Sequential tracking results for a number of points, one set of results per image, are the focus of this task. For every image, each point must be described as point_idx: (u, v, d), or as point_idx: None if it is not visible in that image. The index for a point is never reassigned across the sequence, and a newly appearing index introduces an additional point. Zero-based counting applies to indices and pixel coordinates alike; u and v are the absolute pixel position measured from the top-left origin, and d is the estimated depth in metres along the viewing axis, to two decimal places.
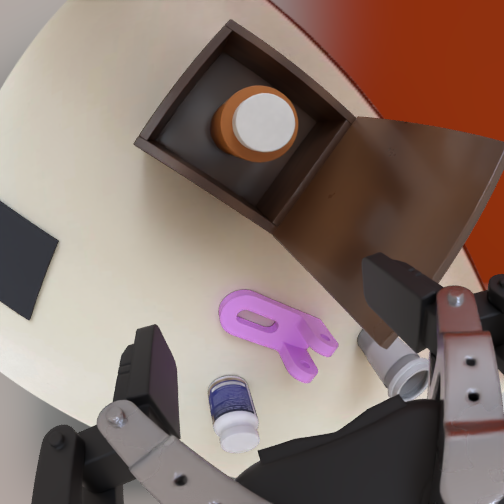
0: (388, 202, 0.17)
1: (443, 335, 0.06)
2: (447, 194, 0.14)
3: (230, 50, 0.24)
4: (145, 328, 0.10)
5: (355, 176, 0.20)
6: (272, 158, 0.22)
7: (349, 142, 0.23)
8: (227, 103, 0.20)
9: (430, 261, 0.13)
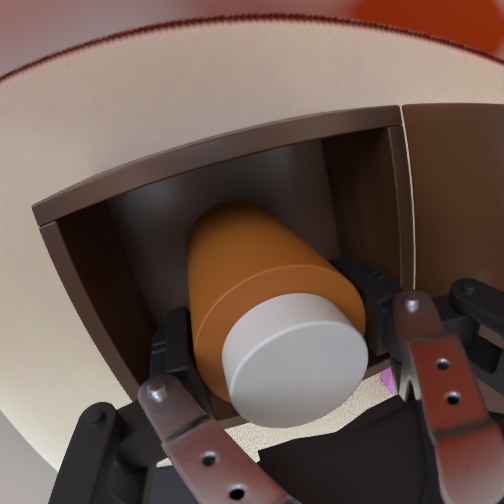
0: None
1: (408, 342, 0.06)
2: None
3: None
4: (176, 309, 0.11)
5: None
6: None
7: (439, 185, 0.09)
8: (204, 379, 0.09)
9: None
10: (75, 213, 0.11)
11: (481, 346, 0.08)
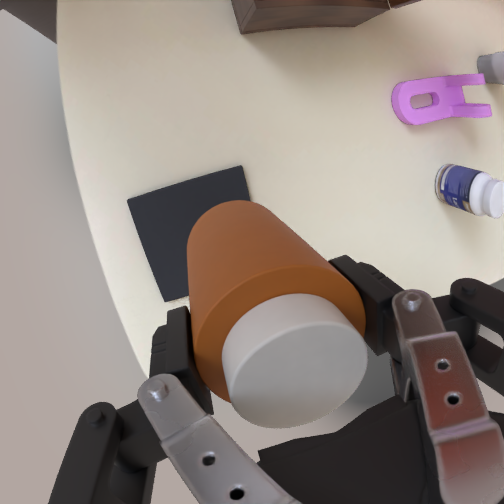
0: None
1: (408, 342, 0.06)
2: None
3: None
4: (176, 309, 0.11)
5: None
6: None
7: None
8: (204, 379, 0.09)
9: None
10: None
11: (481, 346, 0.08)
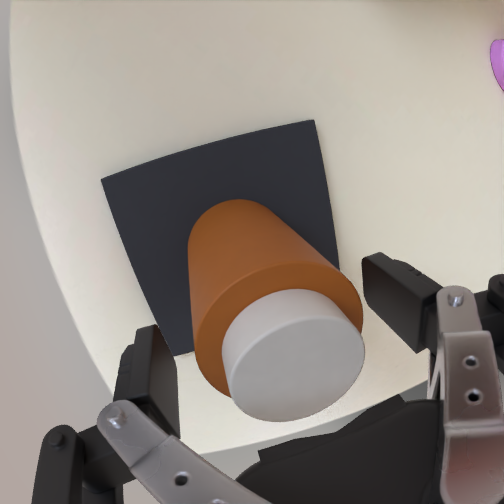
0: None
1: (443, 335, 0.06)
2: None
3: None
4: (145, 328, 0.10)
5: None
6: None
7: None
8: (204, 373, 0.09)
9: None
10: None
11: None
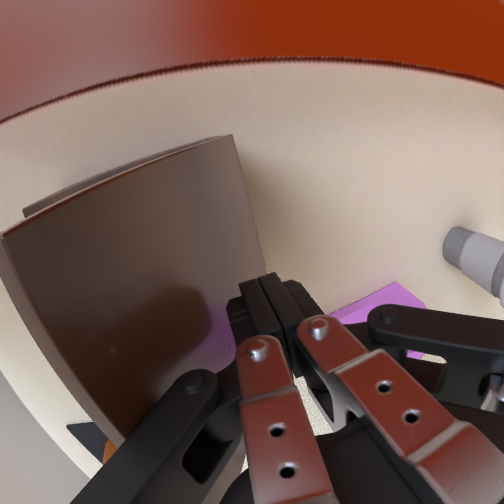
0: None
1: (336, 375, 0.06)
2: None
3: None
4: (247, 281, 0.12)
5: None
6: None
7: None
8: None
9: None
10: None
11: (413, 368, 0.08)
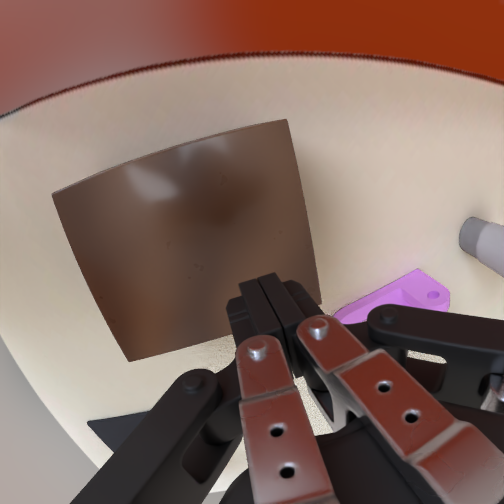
0: None
1: (336, 375, 0.06)
2: None
3: None
4: (247, 281, 0.12)
5: None
6: None
7: None
8: None
9: None
10: None
11: (413, 368, 0.08)
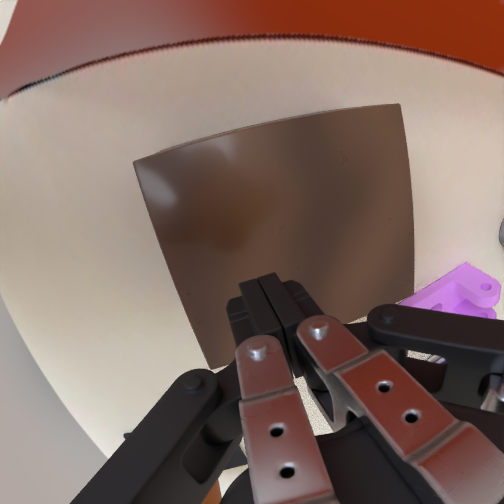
0: None
1: (336, 375, 0.06)
2: None
3: None
4: (248, 281, 0.12)
5: None
6: None
7: None
8: None
9: None
10: None
11: (413, 368, 0.08)
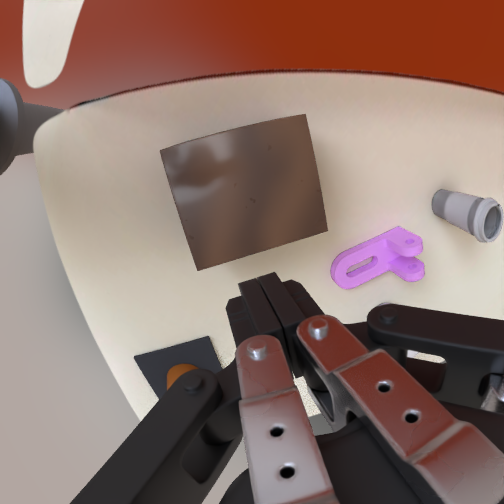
0: None
1: (336, 375, 0.06)
2: None
3: None
4: (248, 281, 0.12)
5: None
6: None
7: None
8: None
9: None
10: None
11: (413, 368, 0.08)
